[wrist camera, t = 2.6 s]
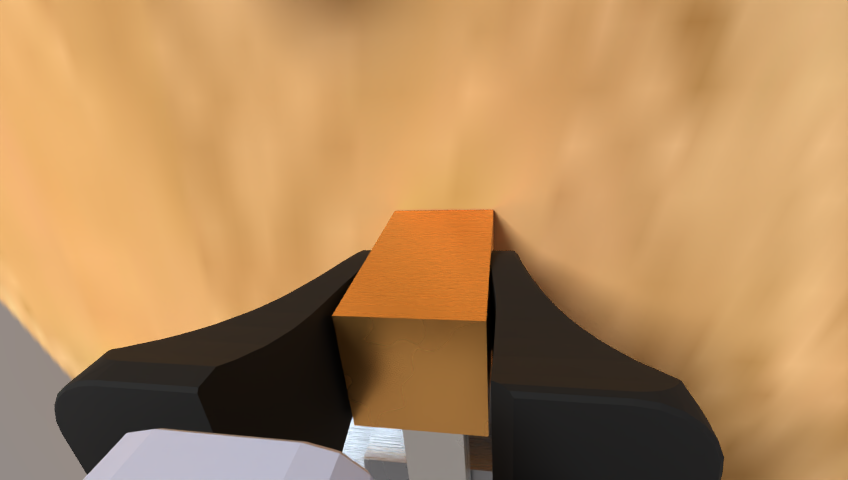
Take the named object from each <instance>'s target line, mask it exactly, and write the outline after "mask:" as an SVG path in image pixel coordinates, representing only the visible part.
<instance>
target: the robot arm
mask: <svg viewBox="0 0 848 480" xmlns="http://www.w3.org/2000/svg"><path fill="white" fill-rule="evenodd" d="M370 252H371V250H363V251H361V252H359V253H357V254H355V255H353V256H351V257H350V258H348V259H346V260H345V261H343V262H341V263H340V264H338V265H337V266H335V267H333V268H332V269H330V270H329V271H327V272H325V273H324V274H322V275H321V276H319V277H317V278H316V279H314V280H312V281H310V282H309V283H307V284H305V285H303V286H302V287H300V288H298V289H296V290H294V291H293V292H291V293H289V294H287V295H285V296H283V297H281V298H279V299H277V300H275V301H273V302H271V303H269V304H266V305H264V306H262V307H260V308H257V309H255V310H253V311H250V312H248V313H245V314H242V315H239V316H237V317H234V318H231V319H229V320H226V321H223V322H220V323H218V324H215V325H212V326H208V327H205V328H202V329H198V330H195V331H192V332H188V333H184V334H181V335H177V336H173V337H169V338H165V339H161V340H156V341H151V342H147V343H142V344H137V345H132V346H128V347H123V348H117V349H112V350H109V351H108V352H106V353H105V354H104V355H103V356H101V357H100V358H99V359H98V360H97V361H95V362H94V363H93V364H92V365H90V366H89V367H88V368H87V369H85V370H84V371H83V372H82V373H81V374H79V375H78V376H77V377H76V378H74V379H73V380H72V381H71V382H69V383H68V384H67V385H66V386H65V387H64V388H63V389H62V390H61V391H60V392H59V393H58V395H57V398H56V402H55V415H56V421H57V424H58V426H59V428H60V430H61V432H62V434H63V436H64V438H65V439H66V441H67V443H68V444H69V446H70V447H71V449H72V451H73V452H74V454H75V456H76V457H77V459H78V460H79V462H80V464H81V465H82V467H83V469H84V470H85V472H86V473H87V476H86V477H85V478H84V479H83V480H373V478H372V476H371V475H370V473H369V472H368V471H367V470H366V469H365V468H363V467H362V466H360V465H359V464H358V463H356V462H355V461H353V460H352V459H351V458H349V457H348V456H346V455H345V454H343V453H342V451H343V447H344V444H345V441H346V437H347V434H348V431H349V427H350V424H351V420H352V417H353V416H352V411H351V406H350V401H349V396H348V391H347V387H346V382H345V377H344V372H343V367H342V362H341V357H340V352H339V348H338V343H337V338H336V333H335V328H334V323H333V318H332V315H333V313H334V312H335V310H336V308H337V307H338V305H339V303H340V302H341V300H342V298H343V297H344V295H345V293H346V292H347V290H348V288H349V287H350V285H351V283H352V282H353V280H354V278H355V277H356V275H357V273H358V272H359V270H360V268H361V267H362V265H363V263H364V262H365V260H366V258H367V257H368V255H369V253H370ZM491 326H492V356H493V363H492V373H491V424H492V475H493V480H721V477H722V472H723V461H724V456H723V453H722V450H721V447H720V444H719V441H718V439H717V437H716V435H715V433H714V431H713V430H712V428H711V426H710V424H709V422H708V420H707V418H706V417H705V415H704V414H703V412H702V410H701V409H700V407H699V406H698V404H697V403H696V401H695V400H694V398H693V397H692V396H691V394H690V393H689V391H688V390H687V388H686V387H685V385H684V384H683V382H682V381H681V380H679V379H677V378H674V377H672V376H670V375H667V374H665V373H663V372H661V371H658V370H656V369H654V368H651V367H649V366H647V365H644V364H642V363H640V362H638V361H636V360H634V359H632V358H630V357H628V356H626V355H624V354H622V353H621V352H619V351H617V350H615V349H613V348H612V347H610V346H608V345H607V344H605V343H603V342H601V341H600V340H598V339H597V338H595V337H594V336H592V335H591V334H590V333H588V332H587V331H585V330H584V329H582V328H581V327H580V326H578V325H577V324H576V323H574V322H573V321H572V320H571V319H569V318H568V317H567V316H566V315H565V314H564V313H562V312H561V311H560V310H559V309H558V308H557V307H556V306H555V305H554V304H553V303H552V302H551V301H550V299H549V298H548V297H547V296H546V295H545V294H544V293H543V292H542V290H541V289H540V288H539V287H538V285H537V284H536V283H535V281H534V280H533V279H532V278H531V276H530V275H529V273H528V272H527V270H526V269H525V267H524V266H523V264H522V262H521V260H520V258H519V256H518V254H517V253H516V252H515V251H492V254H491Z"/></svg>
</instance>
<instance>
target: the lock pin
mask: <svg viewBox="0 0 848 480" xmlns="http://www.w3.org/2000/svg"><path fill="white" fill-rule="evenodd" d="M492 251H494V221H493V210H433V211H395V212H394V214H393V215H392V217H391V219H390V220H389V222H388V224H387V225H386V227H385V229H384V230H383V232H382V234H381V235H380V237H379V238H378V240H377V242H376V243H375V245H374V247H373V248H372V250H371V252H370V253H369V255H368V257H367V258H366V260H365V262H364V263H363V265H362V267H361V268H360V270H359V272H358V273H357V275H356V277H355V278H354V280H353V282H352V283H351V285H350V287H349V288H348V290H347V292H346V293H345V295H344V297H343V298H342V300H341V302H340V303H339V305H338V307H337V308H336V310H335V312H334V313H333V315H332V318H333V323H334V328H335V333H336V338H337V343H338V348H339V352H340V357H341V362H342V367H343V372H344V377H345V382H346V387H347V391H348V396H349V401H350V406H351V411H352V416H353V421H354V425H355V426H367V427H379V428H391V429H402V432H403V439H404V446H405V453H406V460H407V468H408V475H409V480H471V471H470V451H469V435H474V436H486V437H489V415H490V390H491V365H492V326H491V254H492Z"/></svg>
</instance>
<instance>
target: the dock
mask: <svg viewBox="0 0 848 480" xmlns="http://www.w3.org/2000/svg"><path fill="white" fill-rule="evenodd" d="M491 373H492V366H491ZM469 451H470V471H471V480H493V475H492V424H491V390H490V415H489V437H486V436H474V435H469ZM342 453H343V454H345V455H346V456H348V457H349V458H351V459H352V460H353V461H355V462H356V463H358V464H359V465H360V466H362V467H363V468H365V469H366V470H367V471H368V472H369V473H370V475H371V476H372V478H373V480H409V475H408V468H407V460H406V453H405V446H404V439H403V432H402V429H391V428H379V427H367V426H355V425H354V421H353V417H352V420H351V424H350V427H349V431H348V434H347V437H346V441H345V444H344V447H343V451H342Z"/></svg>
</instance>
